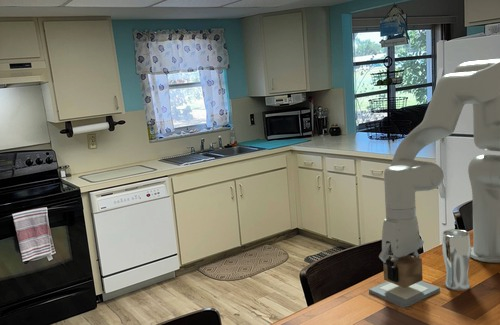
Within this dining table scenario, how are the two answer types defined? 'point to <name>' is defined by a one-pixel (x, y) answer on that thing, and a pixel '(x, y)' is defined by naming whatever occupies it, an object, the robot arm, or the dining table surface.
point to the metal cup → (456, 258)
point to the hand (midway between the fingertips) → (403, 275)
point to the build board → (404, 292)
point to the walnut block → (406, 271)
